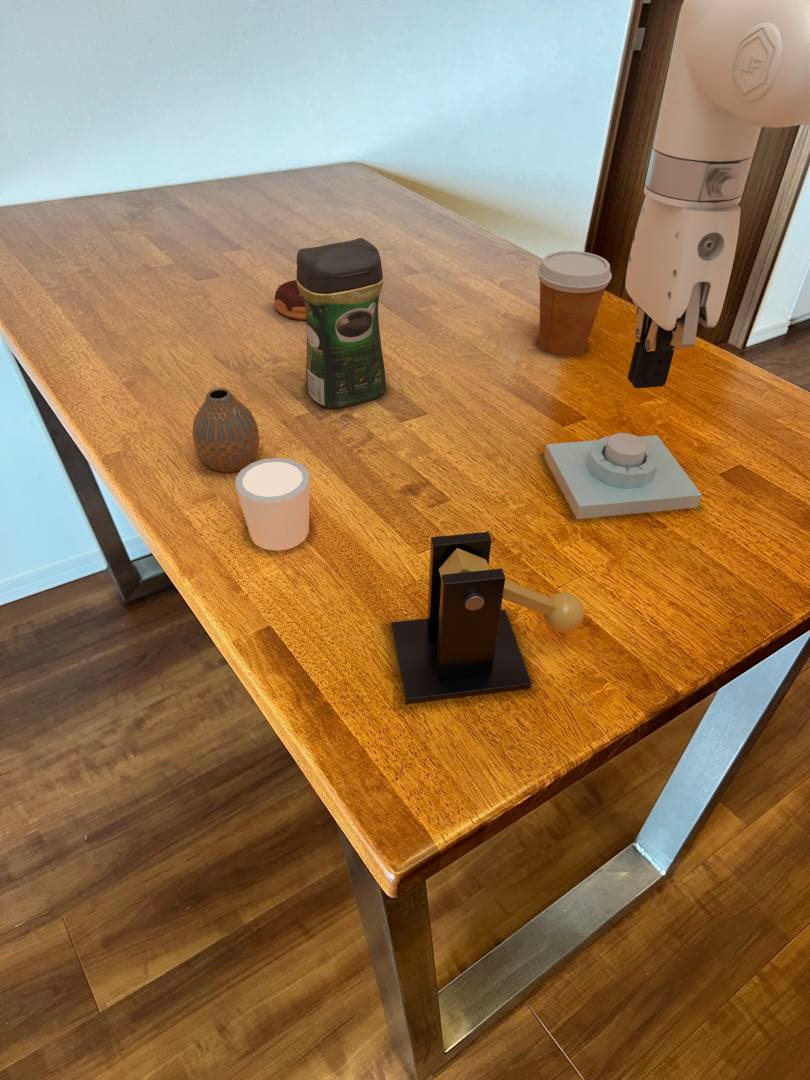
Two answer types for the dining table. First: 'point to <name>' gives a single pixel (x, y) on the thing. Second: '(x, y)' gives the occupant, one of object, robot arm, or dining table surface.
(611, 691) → the dining table surface
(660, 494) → the square base plate
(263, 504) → the pale pink cup
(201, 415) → the vase
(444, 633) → the lever bracket
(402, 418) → the dining table surface
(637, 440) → the round push button
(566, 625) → the flush lever
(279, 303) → the donut
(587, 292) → the disposable coffee cup
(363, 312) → the coffee jar
